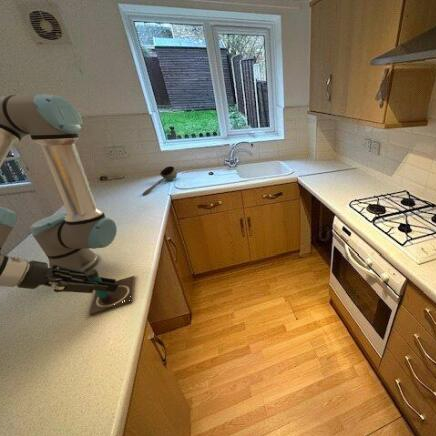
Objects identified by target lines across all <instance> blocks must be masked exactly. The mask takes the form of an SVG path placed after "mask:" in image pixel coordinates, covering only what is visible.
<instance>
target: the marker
mask: <svg viewBox="0 0 436 436" xmlns="http://www.w3.org/2000/svg"><path fill="white" fill-rule="evenodd" d="M85 272H86V273H85V275H86V277H87V278H88V279H89V281H92V282H97V281H101V282H102V280H101V278H100V277H101V276H100V274H99V272H98V270H97V269H95V268H91V269H89V270H87V271H85ZM94 292H95V293H97V295H98V297H99V299H100V300H101V301H102V302H104V301H107V300H108V299H109V298H110V295H109V293H108V291H101V290H94Z"/></svg>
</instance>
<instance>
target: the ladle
mask: <svg viewBox="0 0 436 436" xmlns="http://www.w3.org/2000/svg"><path fill="white" fill-rule="evenodd" d="M159 175H160V176H161V177H162V178H160V179H159V180H158V181H157V182H156V183H154V184H153V185H151V186H150V187H149V188H147V189H146V190H144V191H143V193H142V196H146V195H147V194H149V193H151V191H153V190H154V189H155V188H156V187H158V185H160V184H162V183H163V182H164V181H168V182H170V181H173V180H175V179H176V178H177V175H178V172H177V170H176V169H175V167H174V166H171V165H170V166H167V167H165V168H163V169H162V170H161V171H160V173H159Z"/></svg>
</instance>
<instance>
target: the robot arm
mask: <svg viewBox="0 0 436 436" xmlns="http://www.w3.org/2000/svg"><path fill="white" fill-rule="evenodd" d="M83 126H84V125H83V119H82V116H81V114H80V112H79V110H78V109H77V108H76V106H74V104H72V103H71V102H70V101H69V100H68V99H66V98H65V97H63V96H60V95H57V94H48V93H47V94H46V93H36V94H34V93H33V94H8V95H3V96H1V97H0V168H2V166H3V164H4V162H5V160H6V158H7V156H8V154H9V152H10V151H11V149H12V147H13V146H17V145H19V144H20V142H21V141H22V139H23V138H24V137H26V136H28V135H29V137H30V139H31V141H32V142H33V143H35V144H37V145H39V146H41V149H42V152H43V154H44V157H45V159H46V162H47V165H48V167H49V169H50V172H51V174H52V177H53V180H54V182H55V185H56V187H57V190H58V192H59V194H60V197H61V199H62V202H63V205H64V207H65V210H66V212H61V213H56V214H52V215H49V216H46V217H44V218H42V219H40V220H37V221H35V222H33V223H32V224H31V225H30V228H29V230H30V232H31V235H32V238H34V239H35V241H36V242H37V244H38V245H39V247H40V248H41V250H42V251H43V252H44V254H45V255H46V257H47V260H48V262H44V261H39V260H33V259H32V260H30V261H29V260H28V259H27V258H26V259H25V258H20V257H19V256H8V255H2V254H0V287H6V288H14V287H17V288H18V289H30V290H35V289H37V288H39V287H40V286H45V287H51V288H54V289H53V292H54V293H62V292H63V293H64V292H65V293H80V294H81V293H82V294H93V292H95V290H101V291H110V292H115V290H116V289H117V287H118V284H115V281H117V279H115V278H110V277H104V276H103V277H102V276H100V278H101V280H102V282H101V281H97V282H92V281H89V279H88V278H87V277H86V275H85V273H86V272H87V271H89V270H91V269H93V267H94V266H95V265H97V263H98V261H99V258H98V256H97V254H96V253H95V252H94V251H93V250H97V249H104V248H106V247H108V246H110V245H111V244H112V243H113V242H114V240H115V238H116V236H117V232H118V230H117V225H116V222H115V220H113V219H111V218H110V217H106V215H105V212H104V210H102V209H100V208H98V206H97V204H96V201H95V198H94V194H93V192H92V189H91V186H90V183H89V180H88V177H87V174H86V172H85V171H86V170H85V169H84V166H83V163H82V160H81V157H80V154H79V151H78V149H77V146H76V143H77V142H78V140H79V138H80V137H79V134H78V133H79V132H80V131H81V130H82V129H83ZM17 220H18V214H17V213H16V212H15V211H14V210H12V209H9V208H6V207H3V206H0V251H2V248H3V246H4V245H5V243H6V241H7V239H8V237H9V236H10V234H11V232H12V231H13V229H14V228H15V224H16V221H17Z"/></svg>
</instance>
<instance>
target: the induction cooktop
mask: <svg viewBox="0 0 436 436" xmlns="http://www.w3.org/2000/svg"><path fill="white" fill-rule="evenodd" d="M135 283H136V276H135V275H132V276H129V277H125V278H122V279H118V280H116V281H115V284H118V287H117V289H116V290H115V292H110V291H108V293H109V295H110V298H109V299H108V300H107V301H104V302H102V301H101V300H100V299H99V297H98V295H97V293H96V292H95V294H94V296H93V301H92V304H91V307H90V311H89V316H95V315H97V314H101V313H104V312H107V311H110V310H114V309H116V308H119V307H122V306H125V305H128V304H131V303H133V300H134V291H135V290H134V289H135ZM130 296H131V297H130ZM124 300H125V302H124ZM129 300H130V301H129ZM122 301H123V303H122ZM114 304H115V305H114Z"/></svg>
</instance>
